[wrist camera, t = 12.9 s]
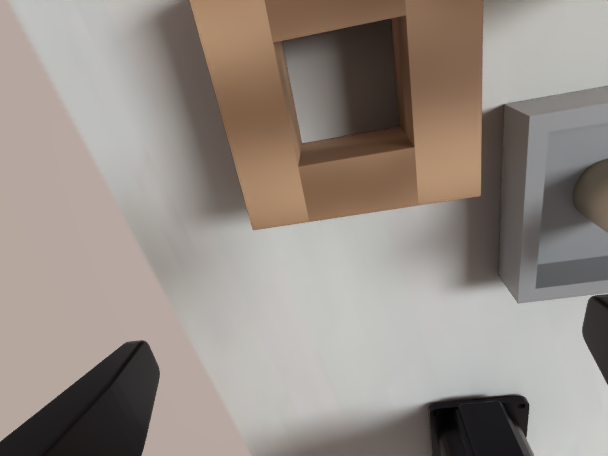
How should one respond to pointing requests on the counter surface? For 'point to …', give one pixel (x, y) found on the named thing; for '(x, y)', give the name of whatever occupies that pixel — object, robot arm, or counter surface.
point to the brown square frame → (354, 148)
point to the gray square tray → (551, 197)
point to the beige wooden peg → (593, 194)
